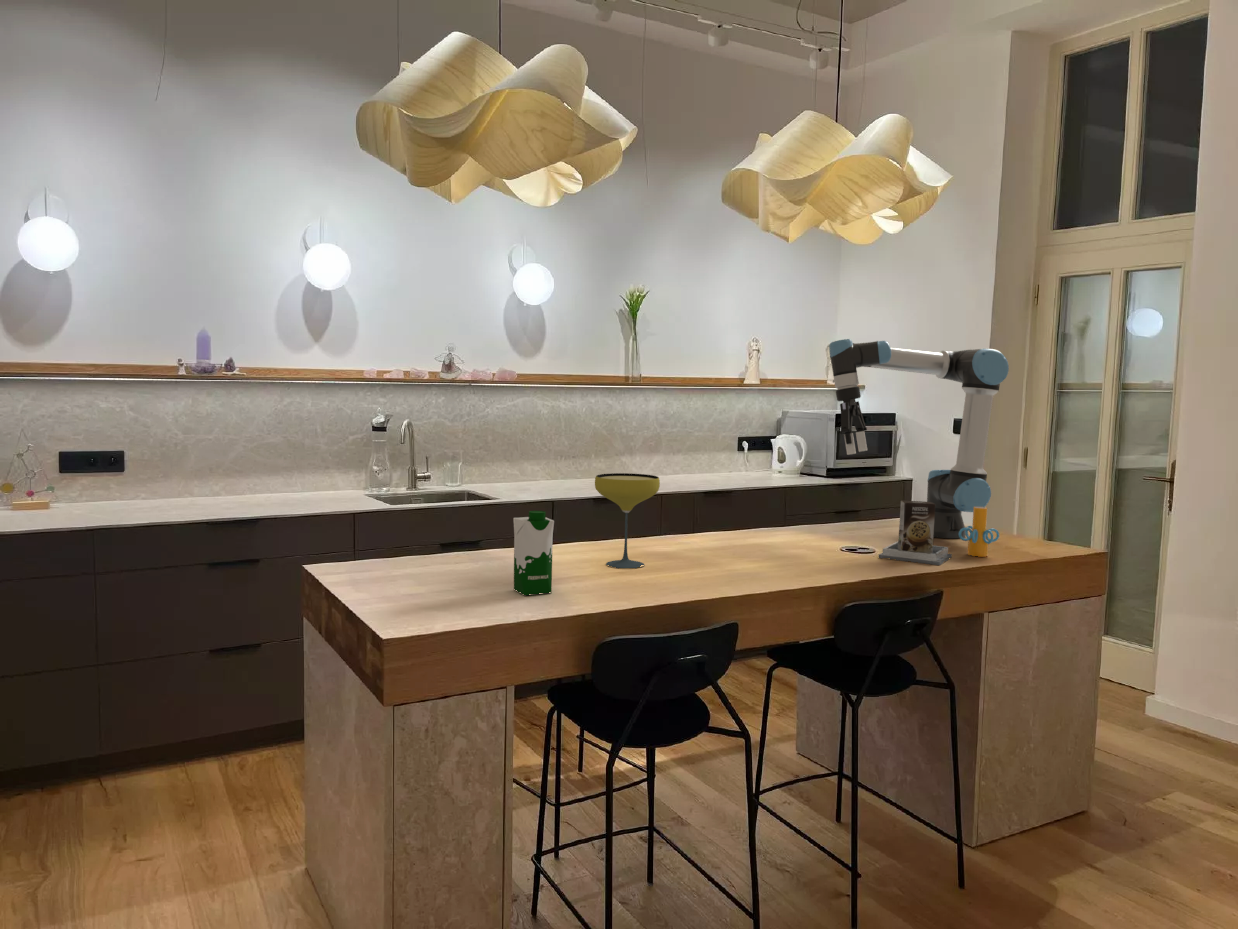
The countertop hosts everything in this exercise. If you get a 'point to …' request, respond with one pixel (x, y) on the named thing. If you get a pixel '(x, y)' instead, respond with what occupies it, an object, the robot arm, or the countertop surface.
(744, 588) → the countertop surface
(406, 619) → the countertop surface
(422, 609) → the countertop surface
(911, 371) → the robot arm
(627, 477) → the cocktail glass
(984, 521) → the yellow upright post
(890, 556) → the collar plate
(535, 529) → the milk carton
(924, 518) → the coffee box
